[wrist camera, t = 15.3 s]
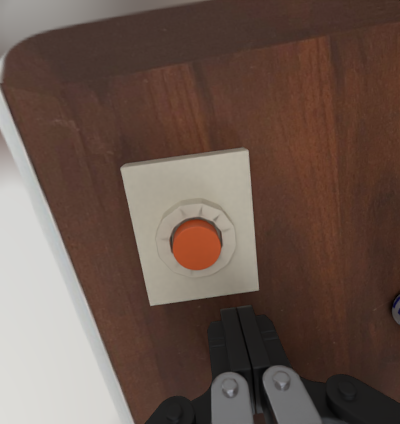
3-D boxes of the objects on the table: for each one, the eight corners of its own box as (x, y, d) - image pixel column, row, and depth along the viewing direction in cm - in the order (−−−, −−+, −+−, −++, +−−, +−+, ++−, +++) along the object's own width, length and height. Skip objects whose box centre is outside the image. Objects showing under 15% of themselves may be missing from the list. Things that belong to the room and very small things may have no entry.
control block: (124, 163, 27) (115, 171, 23) (243, 147, 27) (253, 152, 23) (152, 293, 32) (148, 318, 28) (254, 279, 32) (263, 301, 28)
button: (169, 222, 25) (168, 230, 24) (216, 216, 25) (218, 223, 24) (176, 263, 27) (176, 273, 25) (221, 257, 27) (223, 267, 25)
